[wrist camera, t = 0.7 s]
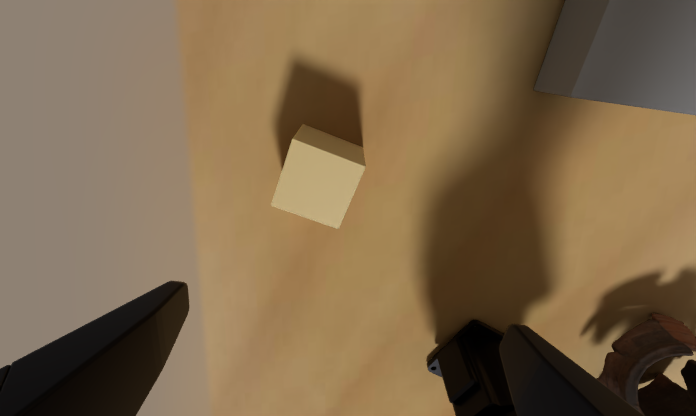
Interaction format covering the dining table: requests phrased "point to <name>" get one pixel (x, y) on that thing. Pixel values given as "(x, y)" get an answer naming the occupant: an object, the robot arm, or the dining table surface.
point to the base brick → (624, 53)
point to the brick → (319, 176)
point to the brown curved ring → (640, 353)
